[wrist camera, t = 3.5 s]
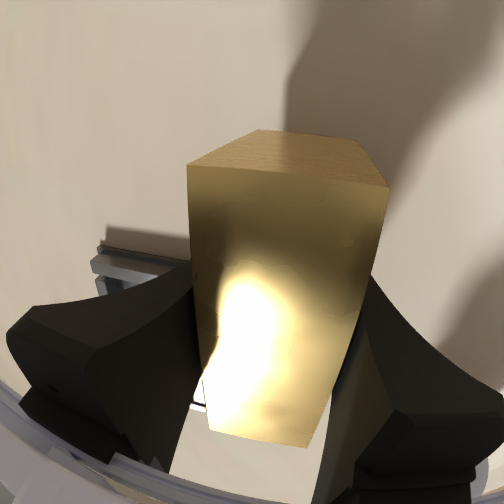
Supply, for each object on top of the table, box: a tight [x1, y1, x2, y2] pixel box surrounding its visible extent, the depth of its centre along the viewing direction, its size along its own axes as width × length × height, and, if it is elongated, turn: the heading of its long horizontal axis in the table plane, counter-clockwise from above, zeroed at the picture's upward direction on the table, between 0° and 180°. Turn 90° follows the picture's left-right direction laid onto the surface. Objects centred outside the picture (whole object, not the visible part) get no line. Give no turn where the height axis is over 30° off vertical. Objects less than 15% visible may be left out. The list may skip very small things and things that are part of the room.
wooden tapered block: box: [187, 130, 390, 448], centre depth 10 cm, size 4×9×6 cm, turn 178°
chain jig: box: [90, 245, 207, 412], centre depth 19 cm, size 7×13×2 cm, turn 178°
